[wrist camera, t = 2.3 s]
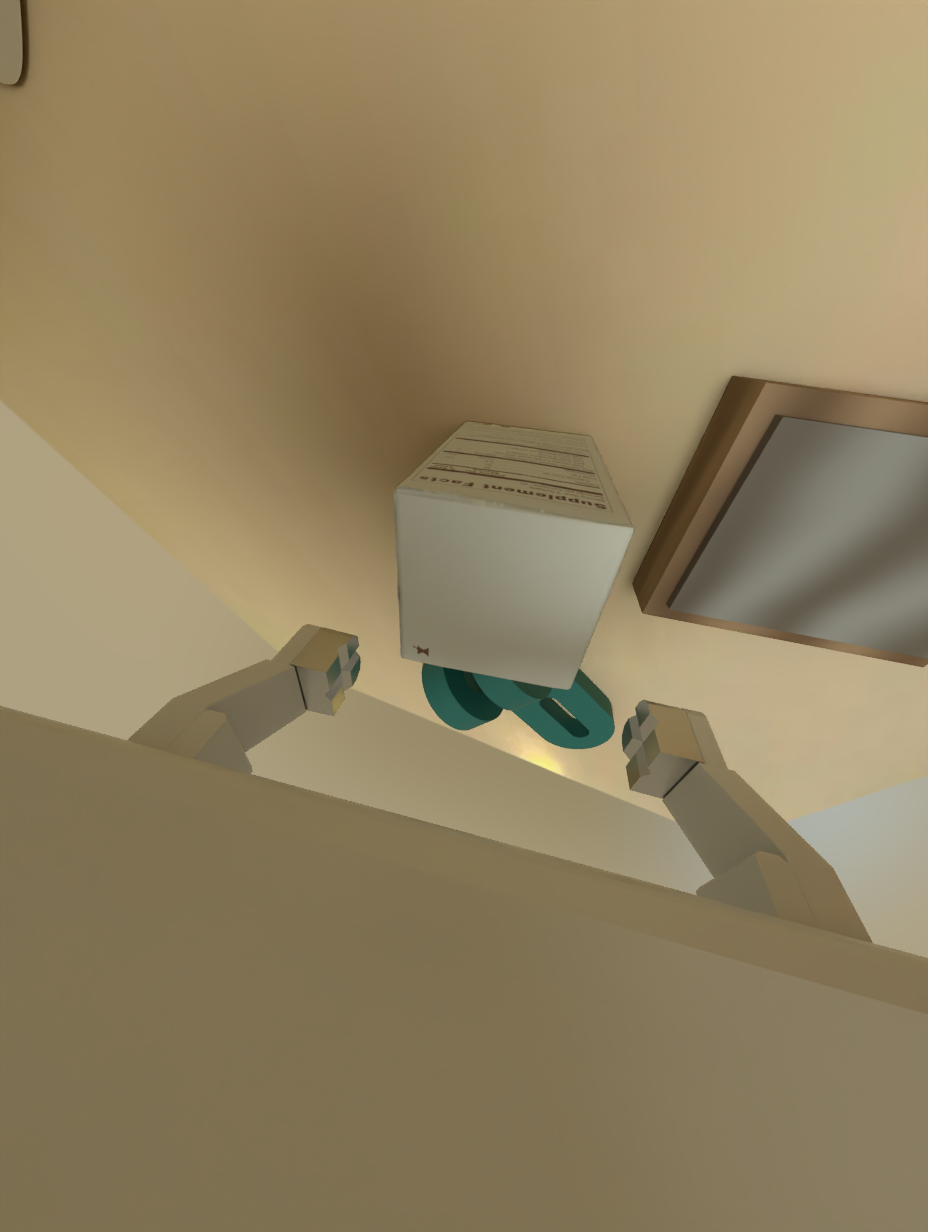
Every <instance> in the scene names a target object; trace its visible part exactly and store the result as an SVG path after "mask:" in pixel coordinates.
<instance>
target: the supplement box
mask: <svg viewBox="0 0 928 1232" xmlns="http://www.w3.org/2000/svg"><path fill="white" fill-rule="evenodd" d="M394 517H395V533H396V556H397V591H398V601H399V620H400V643H401V652H400V653H401V657H402V658H405V659H409V660H413V661H417V662H421V663H426V664H431V665H436V666H441V667H446V668H451V669H457V670H462V671H467V672H472V673H478V674H483V675H489V676H494V677H499V678H504V679H509V680H515V681H520V682H525V683H531V684H535V685H540V686H546V687H551V688H558V689H566V690H568V689H570V688H571V686H572V684H573V681H574V679H575V677H576V674H577V672H578V670H579V667H580V665H581V663H582V660H583V658H584V655H585V653H586V650H587V648H588V645H589V643H590V640H591V638H592V635H593V633H594V630H595V628H596V625H597V623H598V620H599V618H600V615H601V613H602V610H603V608H604V605H605V603H606V601H607V598H608V596H609V593H610V591H611V588H612V585H613V583H614V580H615V578H616V575H617V573H618V570H619V568H620V565H621V562H622V560H623V557H624V555H625V552H626V550H627V547H628V544H629V542H630V539H631V537H632V535H633V533H634V527H633V525H632V523H631V521H630V519H629V517H628V514H627V512H626V510H625V507H624V505H623V503H622V501H621V499H620V497H619V495H618V493H617V490H616V488H615V486H614V484H613V481H612V479H611V477H610V475H609V473H608V471H607V468H606V466H605V464H604V462H603V460H602V458H601V455H600V453H599V451H598V449H597V447H596V445H595V443H594V441H593V439H592V437H591V436H586V435H576V434H567V433H559V432H551V431H543V430H535V429H526V428H518V427H510V426H502V425H494V424H486V423H477V422H468V421H466V422H465V423H464V424H463V425H462V426H461V427H460V428H459V429H457V430H456V431H455V432H454V433H453V434H452V435H451V436H450V437H449V438H448V439H447V440H446V441H445V442H444V443H443V444H442V445H441V446H440V447H439V448H438V449H437V450H436V451H434V453H433V454H431V455H430V457H428V458H427V459H426V460H425V461H424V462H423V463H422V464H421V465H420V466H419V467H418V468H417V469H416V470H415V471H414V472H413V473H412V474H411V475H410V476H409V477H407V478H406V479H405V480H404V481H403V482H402V483H401V484H399V485H398V486H397V487H396V489H395V492H394Z"/></svg>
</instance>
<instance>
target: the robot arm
mask: <svg viewBox="0 0 928 1232" xmlns="http://www.w3.org/2000/svg"><path fill="white" fill-rule="evenodd" d="M22 58H23V54H22V25H21V9H20V0H0V83H3V84H8V85H10V84H14V83H16V82H17V81H18V80H19V77H20V75H21V70H22ZM358 646H359V643H358V637H357V636H355V635H352V634H348V633H344V632H340V631H336V630H332V629H328V628H322V627H318V626H314V625H311V624H307V625H304V626H302V627H301V629H300V630H299V631H298V632H297V633H296V634H295V635H294V636H293V637H292V638H291V639H290V641H289V642H288V643H287V644H286V645H285V646H284V647H283V648H282V649H281V650H280V651H279V653H278V654H277V655H276V656H275V657H274V658H273V659H272V660H271V661H270V660H264V661H262V662H259V663H257V664H255V665H252V666H250V667H247V668H245V669H242V670H240V671H238V672H235V673H233V674H231V675H228V676H226V677H223V678H221V679H218V680H216V681H214V682H211V683H209V684H206V685H204V686H202V687H199V688H197V689H194V690H192V691H190V692H187V693H185V694H182V695H180V696H177V697H175V698H173V699H172V700H171V701H169V702H168V703H167V704H166V705H165V706H164V707H163V708H162V709H161V710H160V711H159V712H157V713H156V714H155V715H154V716H153V717H152V718H151V719H150V720H149V721H148V722H147V723H145V724H144V725H143V726H142V727H141V728H140V729H139V730H138V731H137V732H135V733H134V734H133V735H132V736H131V737H130V738H129V739H128V740H123V739H120V738H116V737H112V736H109V735H105V734H101V733H97V732H94V731H90V730H86V729H83V728H79V727H76V726H72V725H68V724H64V723H61V722H57V721H54V720H50V719H46V718H43V717H39V716H35V715H31V714H28V713H24V712H21V711H17V710H13V709H10V708H6V707H3V706H0V1232H928V958H925V957H922V956H918V955H914V954H911V953H907V952H903V951H900V950H896V949H892V948H888V947H885V946H881V945H877V944H874V943H872V940H871V938H870V936H869V935H868V933H867V931H866V929H865V927H864V925H863V923H862V922H861V920H860V918H859V916H858V914H857V912H856V910H855V908H854V906H853V904H852V903H851V901H850V899H849V897H848V895H847V893H846V891H845V889H844V888H843V886H842V884H841V882H840V880H839V878H838V876H837V874H836V873H835V871H834V869H833V868H832V867H831V866H830V865H829V864H828V863H827V862H826V861H825V860H824V859H823V858H822V857H821V856H820V855H819V854H818V853H817V852H816V851H815V850H814V849H813V848H812V847H811V846H810V845H809V844H808V843H807V842H806V841H805V840H804V839H803V838H802V837H801V836H800V835H799V834H798V833H797V832H796V831H795V830H794V829H793V828H792V827H791V826H790V825H789V824H788V823H787V822H786V821H785V820H784V819H783V818H782V817H781V816H780V815H779V814H778V813H777V812H776V811H775V810H774V809H773V808H772V807H771V806H769V805H768V804H767V803H766V802H765V801H764V800H763V799H762V798H761V797H760V796H759V795H758V794H757V793H756V792H755V791H754V790H753V789H752V788H751V787H750V786H749V785H748V784H747V783H746V782H745V781H744V780H743V779H742V778H741V777H740V776H739V775H738V774H737V773H736V772H735V771H733V770H729V769H728V768H727V766H726V763H725V761H724V758H723V756H722V754H721V751H720V749H719V746H718V744H717V742H716V739H715V737H714V734H713V732H712V729H711V727H710V725H709V722H708V720H707V718H706V716H705V715H704V714H703V713H701V712H697V711H692V710H687V709H683V708H682V709H681V708H678V707H673V706H669V705H664V704H660V703H655V702H650V701H646V700H642V701H641V702H639V704H638V705H637V706H636V708H635V710H636V716H633V717H631V718H629V719H628V721H627V722H626V724H625V726H624V730H623V734H622V746H623V752H624V753H625V754H626V755H627V757H628V758H629V759H630V761H629V763H628V764H627V765H626V770H627V776H628V782H629V787H630V790H632V791H636V792H640V793H643V794H647V795H650V796H654V797H658V798H661V799H663V800H662V801H663V802H664V804H665V805H666V807H667V808H668V810H669V811H670V813H671V814H672V816H673V817H674V819H675V820H676V822H677V823H678V825H679V826H680V828H681V829H682V831H683V832H684V834H685V835H686V837H687V838H688V840H689V841H690V843H691V844H692V845H693V847H694V849H695V850H696V851H697V853H698V855H699V856H700V858H701V859H702V861H703V862H704V864H705V865H706V867H707V868H708V869H709V871H710V872H711V874H712V875H713V877H714V879H712V880H710V881H709V882H707V883H706V884H704V885H702V886H701V887H700V888H699V889H698V890H697V891H696V893H697V895H693V894H690V893H686V892H682V891H679V890H675V889H671V888H667V887H664V886H660V885H657V884H653V883H649V882H645V881H642V880H638V879H635V878H631V877H627V876H624V875H620V874H616V873H613V872H609V871H605V870H601V869H598V868H594V867H591V866H587V865H583V864H579V863H575V862H572V861H569V860H565V859H561V858H557V857H554V856H550V855H546V854H543V853H539V852H535V851H532V850H528V849H524V848H521V847H517V846H513V845H510V844H506V843H502V842H499V841H495V840H491V839H488V838H484V837H480V836H476V835H473V834H469V833H466V832H462V831H458V830H454V829H451V828H447V827H444V826H440V825H436V824H433V823H429V822H425V821H421V820H418V819H414V818H410V817H407V816H403V815H400V814H396V813H392V812H388V811H384V810H381V809H377V808H374V807H370V806H366V805H363V804H359V803H355V802H352V801H348V800H344V799H340V798H337V797H333V796H330V795H326V794H322V793H318V792H315V791H311V790H307V789H304V788H300V787H296V786H293V785H289V784H285V783H282V782H278V781H274V780H270V779H267V778H263V777H259V776H256V775H252V774H251V773H252V766H251V764H250V762H249V760H248V758H247V756H246V754H245V752H246V751H248V750H249V749H251V748H252V747H254V746H255V745H257V744H258V743H260V742H261V741H263V740H264V739H266V738H267V737H269V736H270V735H272V734H273V733H275V732H276V731H278V730H279V729H281V728H282V727H284V726H285V725H287V724H288V723H290V722H291V721H293V720H294V719H296V718H297V717H299V716H300V715H302V714H303V713H305V712H306V710H309V711H313V712H318V713H323V714H327V715H332V716H335V714H336V713H337V711H338V709H339V708H340V706H341V704H342V703H343V701H344V699H345V693H344V691H345V690H347V689H348V688H350V687H352V686H353V684H354V683H355V681H356V679H357V676H358V673H359V670H360V663H361V662H360V656H359V655H358V653H357V652H356V649H357V648H358Z"/></svg>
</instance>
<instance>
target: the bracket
mask: <svg viewBox="0 0 928 1232" xmlns="http://www.w3.org/2000/svg"><path fill="white" fill-rule="evenodd" d="M422 683H423V688H424V691H425V694H426V697H427V699H428V701H429V703H430V705H431V707H432V709H433V710H434V711H435V713H436V714H437V715H438V716H439V718H440V719H441V720H443V721H444V722H445V723H446V724H448V725H449V726H451V727H453V728H455V729H458V730H469V729H472V728H475V727H477V726H479V725H482V724H484V723H487V722H489V721H491V720H494V719H496V718H497V717H498V716H499V715H500V714H501V712H502V710H503V709H506V710H511V711H512V712H514V713H515V714H516V715H517V716H518V717H519V718H521V719H522V720H523V721H524V722H525V723H526V724H527V725H529V726H530V727H531V728H532V729H533V730H534V731H536V732H537V733H538V734H539V735H540V736H541V737H542V738H544V739H545V740H546V741H548V742H550V743H552V744H554V745H557V746H560V747H564V748H569V749H587V748H592V747H596V746H599V745H601V744H603V743H605V742H606V741H607V740H609V739H610V738H611V736H612V735H613V733H614V729H615V726H614V720H613V714H612V708H611V703H610V701H609V699H608V698H607V697H606V696H605V695H604V694H603V692H602V691H601V690H600V689H599V688H598V687H597V686H596V685H595V684H594V683H593V682H592V681H591V680H590V679H589V678H588V677H587V676H586V675H585V674H584V673H583V672H582V671H581V670H580V669H579V670H578V672H577V674H576V677H575V679H574V681H573V684H572V686H571V688H570V689H568V690H566V689H558V688H551V687H546V686H540V685H535V684H531V683H525V682H520V681H515V680H509V679H504V678H499V677H494V676H489V675H483V674H478V673H472V672H467V671H462V670H457V669H451V668H446V667H441V666H436V665H431V664H426V663H423V668H422ZM552 698H554V699H556V700H558V701H559V702H560V703H561V704H562V705H563V706H564V707H565V708H566V709H567V710H568V711H569V712H570V713H571V714H572V715H573V716H574V717H576V718H577V719H575V718H572V717H571V716H570V715H569V714H568V713H567V712H565V711H564V710H563V709H562V708H561V707H560V706H559V705H558V704H557V703H556V702H555V701H554V700H553V699H552Z"/></svg>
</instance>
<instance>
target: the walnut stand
mask: <svg viewBox="0 0 928 1232" xmlns="http://www.w3.org/2000/svg"><path fill="white" fill-rule="evenodd" d="M632 584H633V587H634V590H635V593H636V596H637V599H638V602H639V605H640V608H641V611H642V613H643V614H648V615H653V616H659V617H664V618H669V619H674V620H679V621H685V622H690V623H695V624H700V625H705V626H711V627H716V628H721V629H726V630H732V631H737V632H742V633H747V634H752V635H758V636H763V637H768V638H773V639H779V640H784V641H789V642H794V643H799V644H805V645H810V646H815V647H820V648H825V649H831V650H836V651H841V652H846V653H852V654H857V655H862V656H867V657H872V658H878V659H883V660H888V661H893V662H898V663H904V664H909V665H914V666H919V667H924V666H926V665H927V664H928V402H921V401H913V400H906V399H899V398H891V397H884V396H877V395H870V394H862V393H855V392H848V391H840V390H833V389H826V388H819V387H811V386H804V385H797V384H789V383H782V382H775V381H767V380H760V379H753V378H746V377H738V376H732V378H731V380H730V382H729V384H728V386H727V388H726V390H725V392H724V394H723V397H722V399H721V401H720V403H719V405H718V407H717V409H716V411H715V413H714V415H713V417H712V419H711V421H710V424H709V426H708V428H707V430H706V432H705V434H704V436H703V438H702V440H701V442H700V444H699V446H698V448H697V451H696V453H695V455H694V457H693V459H692V461H691V463H690V465H689V467H688V469H687V471H686V473H685V475H684V478H683V480H682V482H681V484H680V486H679V488H678V490H677V492H676V494H675V496H674V498H673V500H672V502H671V505H670V507H669V509H668V511H667V513H666V515H665V517H664V519H663V521H662V523H661V525H660V527H659V529H658V531H657V534H656V536H655V538H654V540H653V542H652V544H651V546H650V548H649V550H648V552H647V554H646V556H645V558H644V561H643V563H642V565H641V567H640V569H639V571H638V573H637V575H636V577H635V579H634V581H633V583H632Z"/></svg>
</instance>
